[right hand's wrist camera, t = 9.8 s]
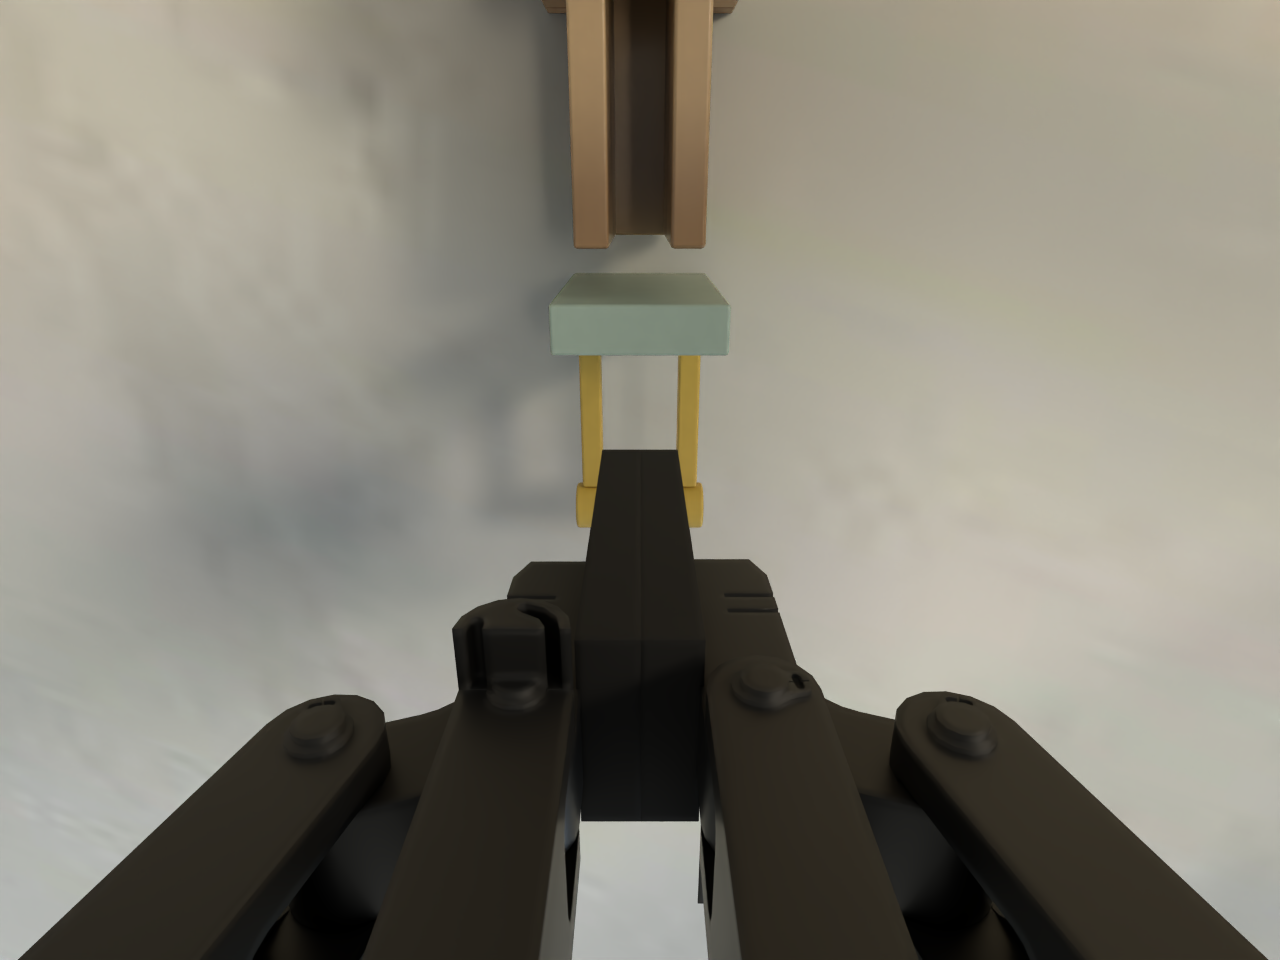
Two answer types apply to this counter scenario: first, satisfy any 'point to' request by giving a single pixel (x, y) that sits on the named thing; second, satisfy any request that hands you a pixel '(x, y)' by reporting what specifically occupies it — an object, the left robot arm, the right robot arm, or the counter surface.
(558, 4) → the cabinet
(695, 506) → the drawer
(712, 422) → the counter surface
